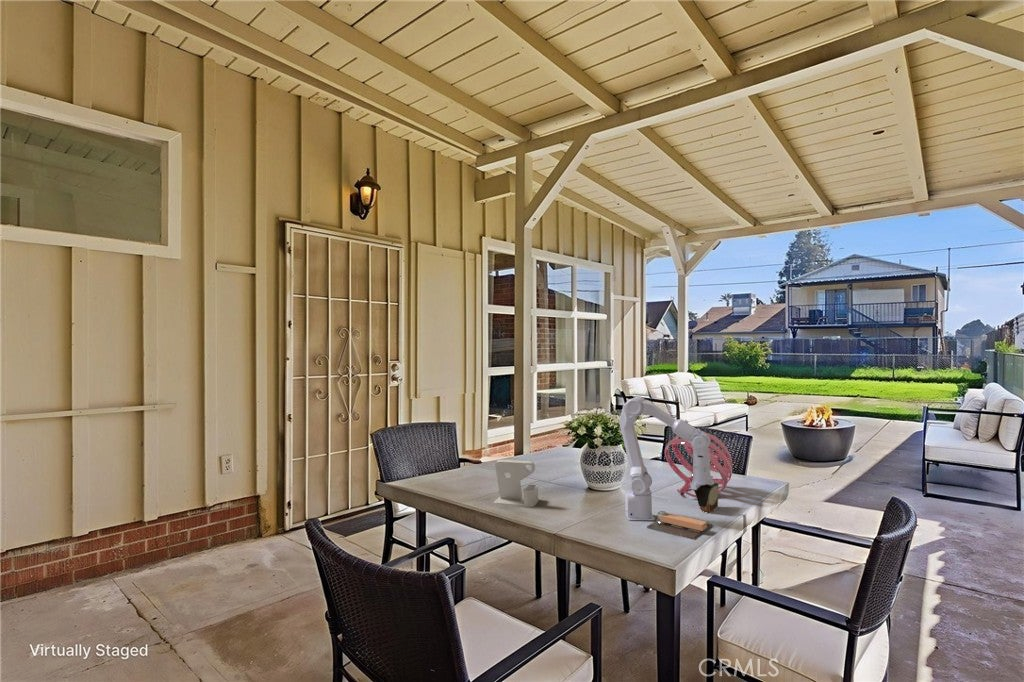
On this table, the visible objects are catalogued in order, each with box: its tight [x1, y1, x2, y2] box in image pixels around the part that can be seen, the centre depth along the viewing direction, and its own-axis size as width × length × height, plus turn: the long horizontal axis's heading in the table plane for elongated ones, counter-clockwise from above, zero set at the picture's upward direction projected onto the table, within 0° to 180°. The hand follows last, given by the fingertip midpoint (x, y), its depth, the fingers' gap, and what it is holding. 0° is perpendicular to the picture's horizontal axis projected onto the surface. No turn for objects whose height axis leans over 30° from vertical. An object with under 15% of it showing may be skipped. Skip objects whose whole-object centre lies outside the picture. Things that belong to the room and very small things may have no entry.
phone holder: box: [493, 459, 540, 508], centre depth 210 cm, size 17×10×18 cm, turn 73°
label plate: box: [646, 518, 713, 540], centre depth 178 cm, size 16×17×1 cm
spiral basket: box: [664, 430, 733, 499], centre depth 216 cm, size 28×28×27 cm
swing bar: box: [657, 510, 708, 531], centre depth 177 cm, size 17×4×3 cm, turn 47°
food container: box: [699, 480, 720, 514], centre depth 197 cm, size 12×6×10 cm, turn 141°
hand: (702, 506), depth 179 cm, fingers closed
